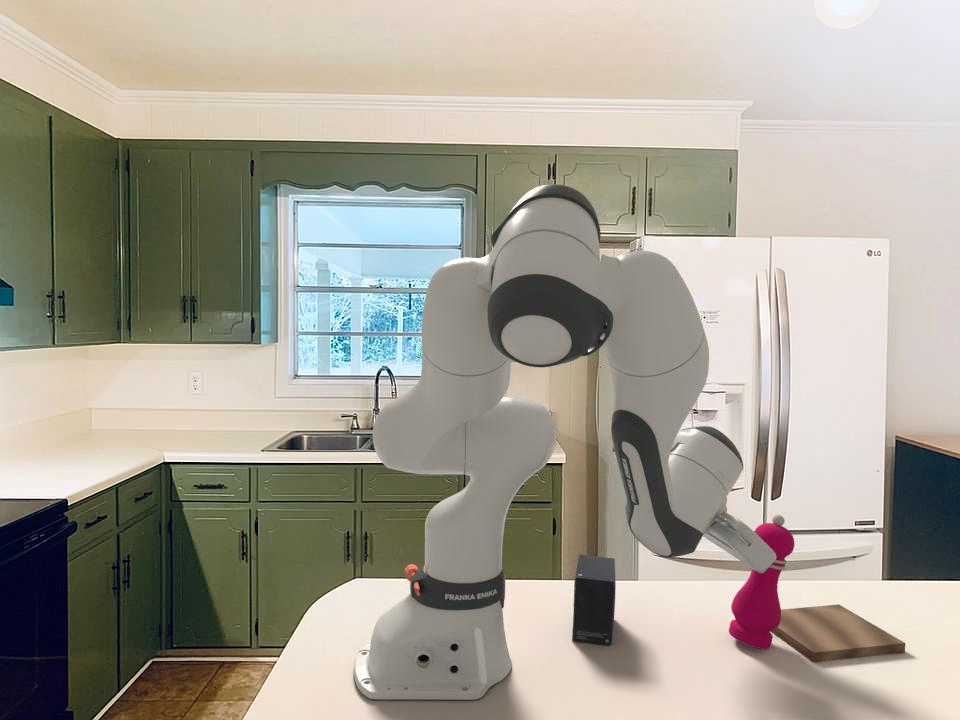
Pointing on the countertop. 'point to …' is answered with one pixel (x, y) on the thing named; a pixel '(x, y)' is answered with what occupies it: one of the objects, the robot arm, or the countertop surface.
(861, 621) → the walnut board
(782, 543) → the pepper mill
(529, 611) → the countertop surface
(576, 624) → the small box
